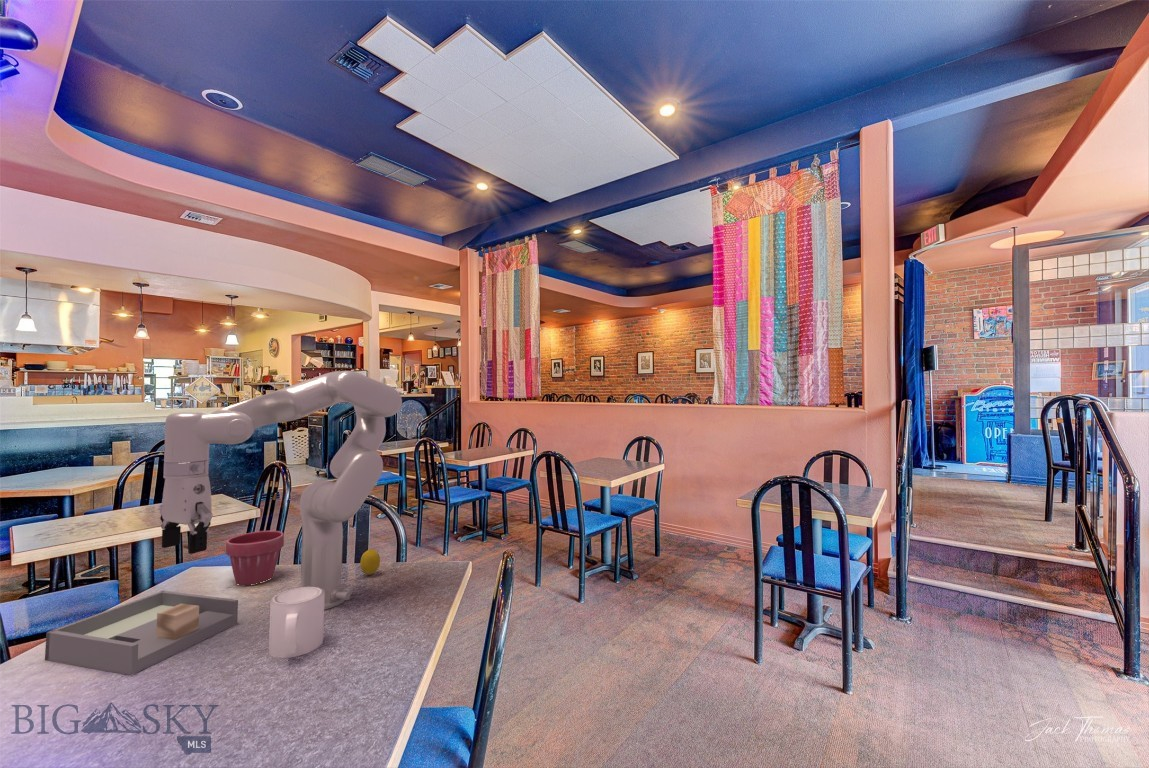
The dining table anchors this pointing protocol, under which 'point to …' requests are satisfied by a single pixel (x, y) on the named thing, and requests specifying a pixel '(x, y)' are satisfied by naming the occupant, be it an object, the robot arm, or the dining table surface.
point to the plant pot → (254, 555)
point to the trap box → (135, 633)
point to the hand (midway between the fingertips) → (183, 549)
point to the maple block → (177, 621)
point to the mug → (296, 621)
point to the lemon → (370, 561)
